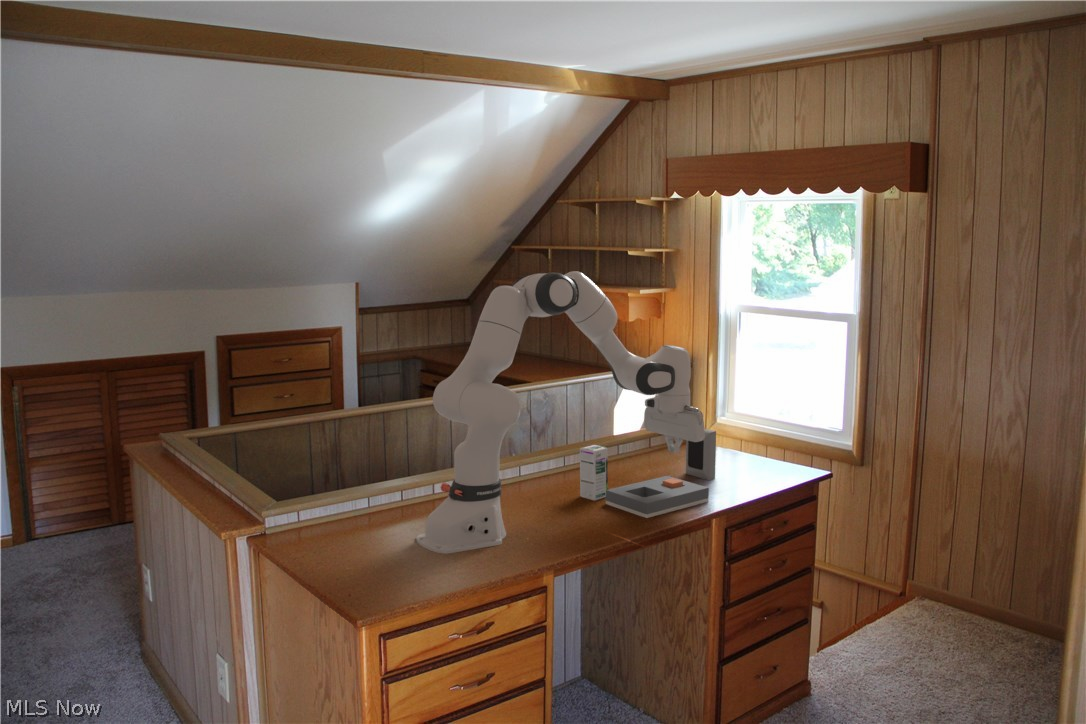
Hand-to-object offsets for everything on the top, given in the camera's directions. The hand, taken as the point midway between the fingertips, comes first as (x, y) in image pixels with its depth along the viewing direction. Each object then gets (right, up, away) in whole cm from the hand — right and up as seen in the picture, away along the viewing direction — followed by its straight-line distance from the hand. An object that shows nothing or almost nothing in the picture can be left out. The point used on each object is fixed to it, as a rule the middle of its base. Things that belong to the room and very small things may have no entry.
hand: (673, 451), depth 255 cm
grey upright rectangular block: (+11, -10, +24) cm, 29 cm away
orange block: (0, -11, +1) cm, 11 cm away
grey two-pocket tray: (-5, -14, -2) cm, 15 cm away
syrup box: (-22, -13, +3) cm, 26 cm away
